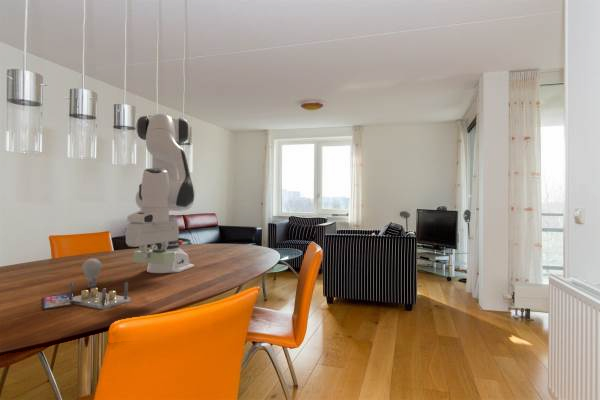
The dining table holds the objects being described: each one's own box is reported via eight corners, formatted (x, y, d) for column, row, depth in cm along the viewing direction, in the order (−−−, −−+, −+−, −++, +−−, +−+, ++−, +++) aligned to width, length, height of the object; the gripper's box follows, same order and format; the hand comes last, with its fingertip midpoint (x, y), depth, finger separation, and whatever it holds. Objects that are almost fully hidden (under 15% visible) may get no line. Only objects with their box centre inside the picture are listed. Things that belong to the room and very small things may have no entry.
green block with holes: (144, 259, 119) (144, 247, 119) (174, 261, 116) (174, 249, 116) (133, 261, 114) (133, 249, 114) (164, 264, 111) (164, 252, 111)
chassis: (94, 294, 118) (95, 277, 118) (130, 300, 112) (131, 282, 112) (65, 302, 109) (65, 283, 109) (103, 309, 103) (103, 289, 103)
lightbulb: (104, 286, 128) (105, 257, 128) (90, 290, 122) (91, 260, 122) (92, 285, 130) (92, 256, 130) (77, 289, 124) (78, 259, 124)
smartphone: (42, 308, 101) (42, 296, 113) (42, 312, 101) (42, 299, 113) (72, 304, 105) (69, 293, 117) (72, 307, 105) (69, 295, 117)
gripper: (170, 214, 126) (169, 251, 126) (122, 216, 107) (121, 260, 107) (183, 215, 123) (182, 252, 123) (137, 217, 104) (136, 262, 105)
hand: (154, 256), depth 115 cm, fingers closed on green block with holes, 6 cm apart
